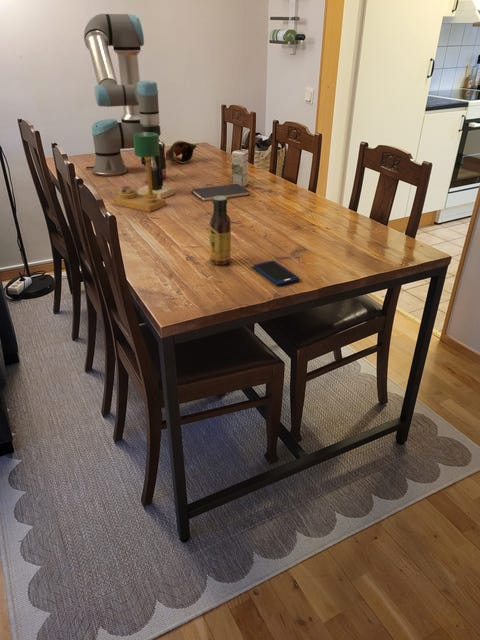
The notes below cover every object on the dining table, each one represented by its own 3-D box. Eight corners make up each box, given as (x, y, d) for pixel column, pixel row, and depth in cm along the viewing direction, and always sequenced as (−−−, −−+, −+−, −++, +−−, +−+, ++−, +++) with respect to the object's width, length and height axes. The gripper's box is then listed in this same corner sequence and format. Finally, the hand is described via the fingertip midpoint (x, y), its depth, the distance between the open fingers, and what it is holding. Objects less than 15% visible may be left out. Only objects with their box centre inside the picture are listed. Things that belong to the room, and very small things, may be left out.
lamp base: (113, 203, 191) (111, 194, 189) (129, 197, 198) (128, 187, 196) (149, 211, 183) (148, 201, 181) (165, 204, 190) (165, 194, 188)
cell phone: (278, 286, 131) (278, 283, 131) (252, 267, 142) (252, 264, 141) (300, 280, 134) (300, 278, 134) (273, 262, 145) (273, 259, 144)
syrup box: (248, 184, 217) (248, 150, 209) (242, 187, 212) (243, 153, 205) (236, 182, 219) (237, 149, 211) (231, 185, 214) (231, 152, 207)
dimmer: (137, 195, 201) (136, 188, 200) (152, 189, 208) (151, 183, 207) (160, 199, 196) (159, 193, 195) (174, 193, 203) (174, 187, 202)
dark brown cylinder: (155, 191, 198) (154, 170, 193) (145, 188, 200) (144, 168, 196) (164, 187, 202) (163, 167, 197) (155, 185, 204) (153, 165, 200)
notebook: (237, 187, 213) (192, 192, 205) (237, 183, 212) (192, 189, 204) (250, 195, 203) (203, 201, 195) (250, 191, 202) (203, 197, 194)
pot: (179, 138, 259) (194, 132, 244) (189, 157, 264) (204, 153, 249) (154, 152, 253) (167, 147, 238) (164, 172, 258) (178, 168, 243)
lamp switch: (120, 193, 190) (119, 188, 189) (126, 191, 193) (126, 185, 192) (127, 195, 189) (127, 189, 188) (134, 192, 192) (133, 187, 191)
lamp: (134, 198, 184) (127, 135, 172) (149, 192, 191) (143, 131, 179) (152, 201, 181) (147, 137, 169) (167, 195, 187) (163, 133, 175)
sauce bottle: (209, 257, 147) (208, 193, 137) (229, 257, 148) (230, 193, 137) (210, 266, 142) (208, 200, 131) (231, 266, 142) (231, 200, 132)
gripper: (173, 126, 185) (176, 187, 197) (143, 121, 196) (148, 178, 208) (157, 129, 180) (162, 190, 192) (128, 123, 191) (134, 181, 203)
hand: (155, 184), depth 200 cm, fingers closed on dark brown cylinder, 6 cm apart
